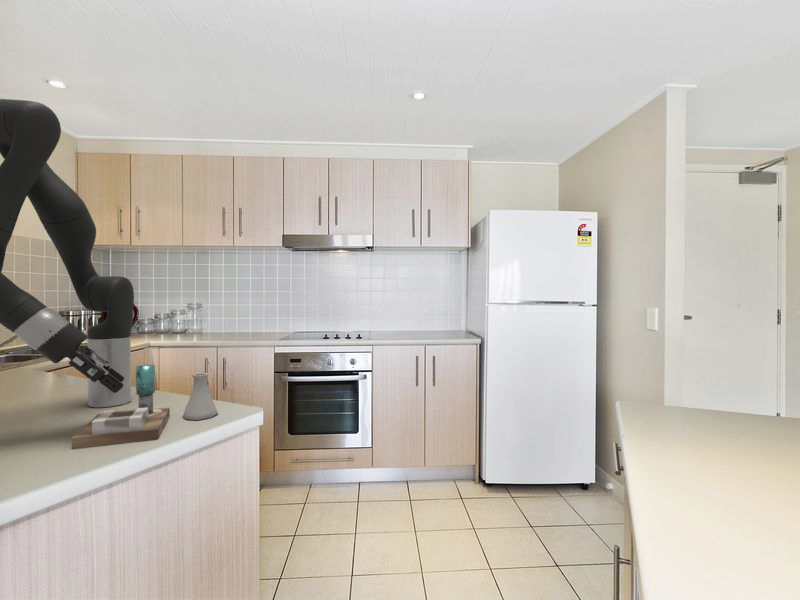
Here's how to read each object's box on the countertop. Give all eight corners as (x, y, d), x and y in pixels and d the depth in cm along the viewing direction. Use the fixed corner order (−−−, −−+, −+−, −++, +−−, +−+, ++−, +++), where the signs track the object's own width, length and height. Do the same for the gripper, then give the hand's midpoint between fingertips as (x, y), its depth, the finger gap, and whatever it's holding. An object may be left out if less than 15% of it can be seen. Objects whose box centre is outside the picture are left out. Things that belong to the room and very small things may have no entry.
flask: (224, 414, 100) (223, 372, 100) (198, 422, 94) (198, 378, 94) (202, 410, 103) (202, 370, 103) (176, 418, 97) (175, 375, 97)
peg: (138, 411, 94) (137, 365, 94) (156, 410, 95) (156, 364, 95) (134, 416, 91) (134, 367, 90) (153, 414, 92) (153, 366, 92)
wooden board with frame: (98, 422, 93) (98, 402, 93) (169, 415, 99) (169, 396, 99) (71, 448, 78) (71, 424, 78) (158, 439, 83) (158, 416, 83)
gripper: (63, 323, 79) (135, 377, 86) (72, 319, 91) (135, 367, 98) (26, 353, 77) (103, 407, 83) (41, 345, 89) (107, 392, 95)
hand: (120, 385), depth 90 cm, fingers open, 8 cm apart
